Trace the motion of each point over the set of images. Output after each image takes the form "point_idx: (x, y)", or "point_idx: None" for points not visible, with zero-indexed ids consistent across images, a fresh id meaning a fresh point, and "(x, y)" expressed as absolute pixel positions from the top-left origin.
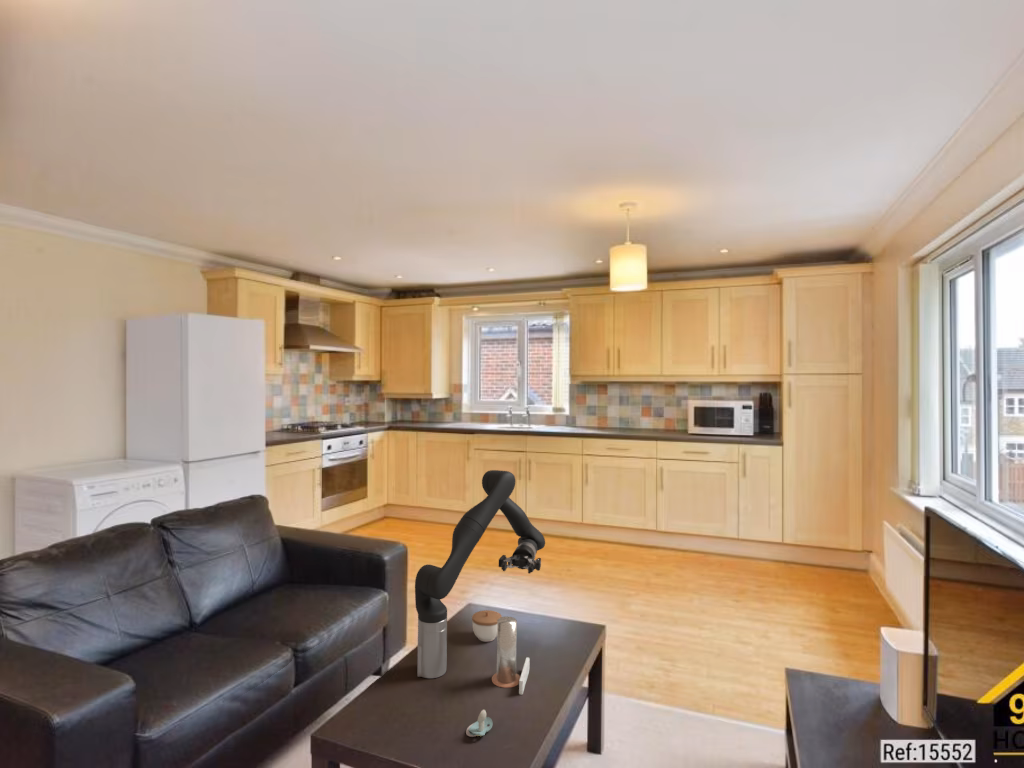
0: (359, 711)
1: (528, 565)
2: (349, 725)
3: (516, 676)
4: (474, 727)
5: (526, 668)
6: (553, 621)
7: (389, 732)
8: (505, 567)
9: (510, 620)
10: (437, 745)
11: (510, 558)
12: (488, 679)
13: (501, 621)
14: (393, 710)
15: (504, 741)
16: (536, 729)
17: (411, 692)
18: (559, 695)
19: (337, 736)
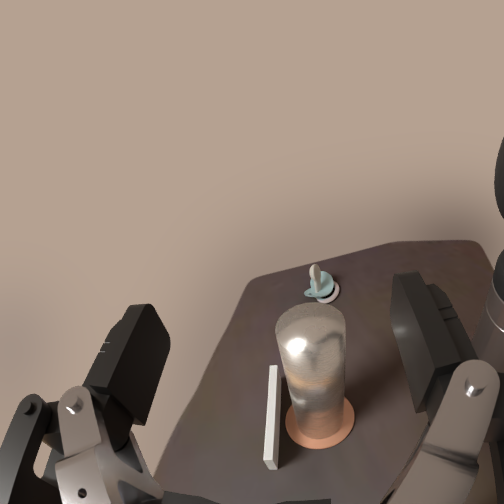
0: (483, 271)
1: (134, 470)
2: (469, 254)
3: (297, 432)
4: (328, 288)
5: (267, 412)
6: None
7: (425, 261)
8: (400, 321)
9: (298, 330)
10: (361, 264)
11: (428, 453)
12: (360, 407)
13: (327, 315)
14: (453, 285)
15: (283, 289)
16: (243, 316)
17: (465, 321)
18: (202, 394)
19: (463, 243)
